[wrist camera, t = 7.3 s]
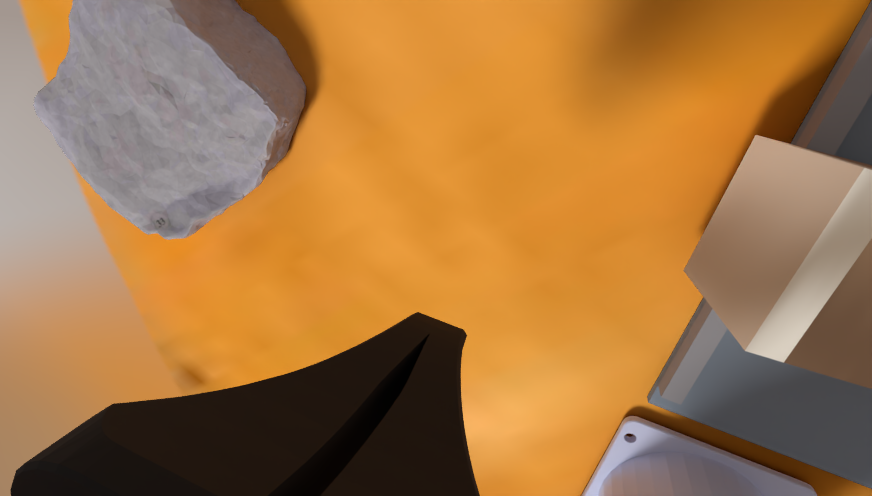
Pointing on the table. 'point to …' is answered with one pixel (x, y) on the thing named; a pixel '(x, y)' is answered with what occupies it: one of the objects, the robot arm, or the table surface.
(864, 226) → the walnut block
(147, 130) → the stone block
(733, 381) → the tipping mat
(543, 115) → the table surface
